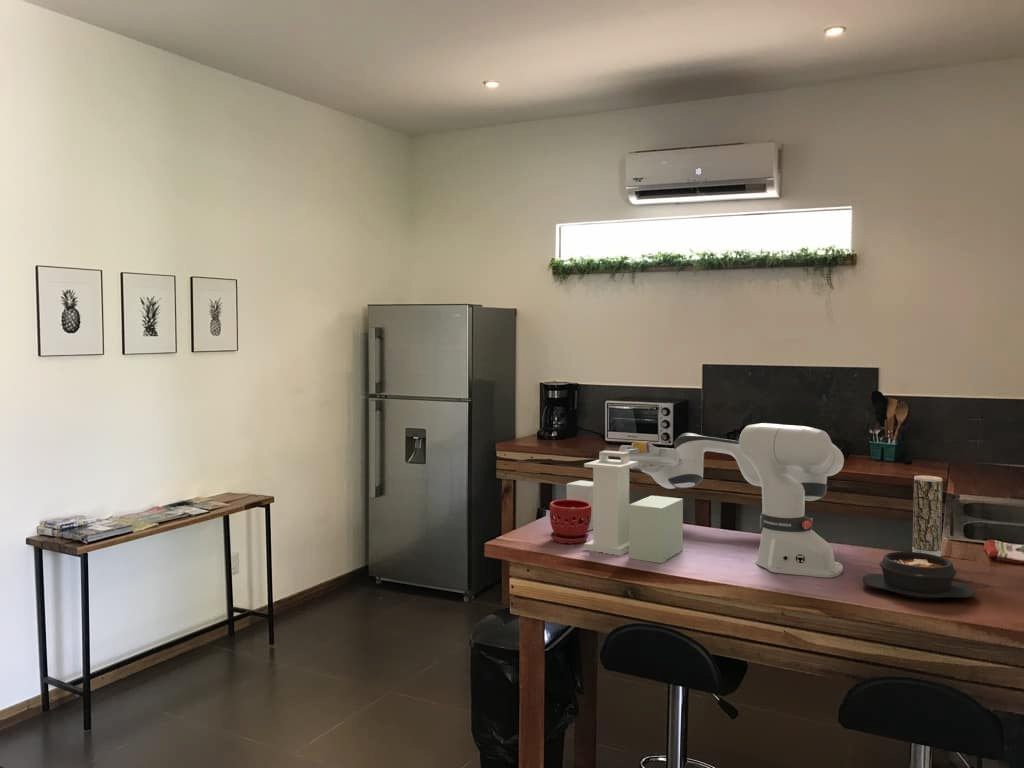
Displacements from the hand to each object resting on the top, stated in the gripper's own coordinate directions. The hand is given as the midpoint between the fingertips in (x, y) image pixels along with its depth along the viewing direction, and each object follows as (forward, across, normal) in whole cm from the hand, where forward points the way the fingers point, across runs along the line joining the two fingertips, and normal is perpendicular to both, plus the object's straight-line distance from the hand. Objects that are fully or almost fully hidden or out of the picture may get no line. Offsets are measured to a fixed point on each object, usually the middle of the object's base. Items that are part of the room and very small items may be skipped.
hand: (641, 445), depth 256 cm
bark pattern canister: (-17, -82, -24) cm, 87 cm away
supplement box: (-13, +20, -26) cm, 35 cm away
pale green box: (+4, -14, -35) cm, 38 cm away
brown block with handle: (+3, 0, -4) cm, 5 cm away
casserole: (+4, -82, -36) cm, 90 cm away
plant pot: (+3, +15, -35) cm, 38 cm away
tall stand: (+5, 0, -36) cm, 36 cm away
